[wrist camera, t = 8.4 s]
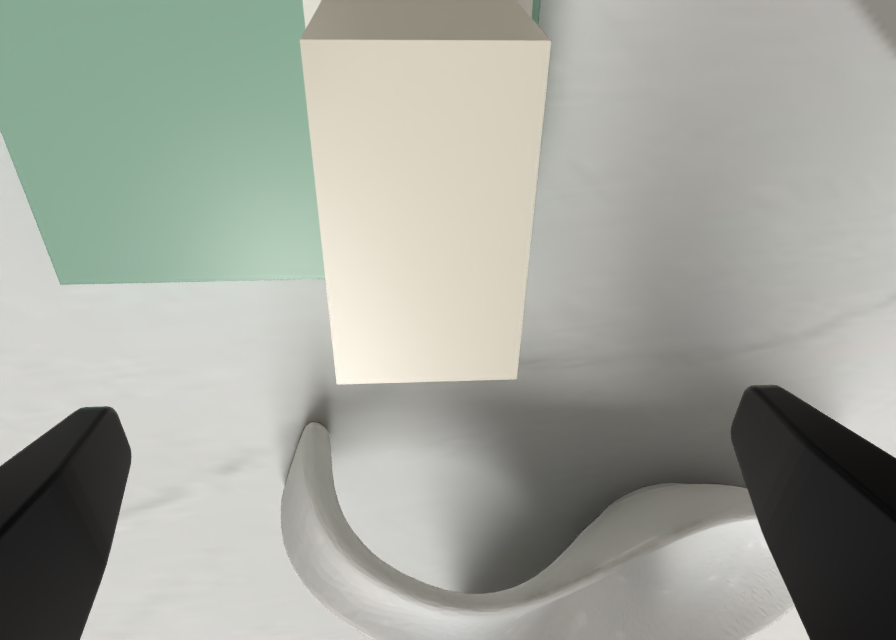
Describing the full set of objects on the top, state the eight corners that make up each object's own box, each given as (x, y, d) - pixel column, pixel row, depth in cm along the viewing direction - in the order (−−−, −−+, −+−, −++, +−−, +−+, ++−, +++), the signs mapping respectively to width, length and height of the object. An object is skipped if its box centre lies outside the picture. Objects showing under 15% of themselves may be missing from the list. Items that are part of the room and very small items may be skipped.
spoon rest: (843, 465, 29) (954, 616, 23) (702, 608, 35) (763, 755, 30) (324, 347, 24) (299, 506, 18) (266, 541, 30) (233, 707, 24)
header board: (532, -12, 17) (572, 24, 13) (511, 256, 21) (535, 341, 18) (-26, -15, 16) (-159, 22, 12) (76, 264, 21) (2, 355, 17)
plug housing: (511, -5, 16) (551, 40, 12) (493, 276, 20) (516, 379, 16) (325, -7, 16) (299, 39, 11) (348, 279, 20) (336, 384, 16)
